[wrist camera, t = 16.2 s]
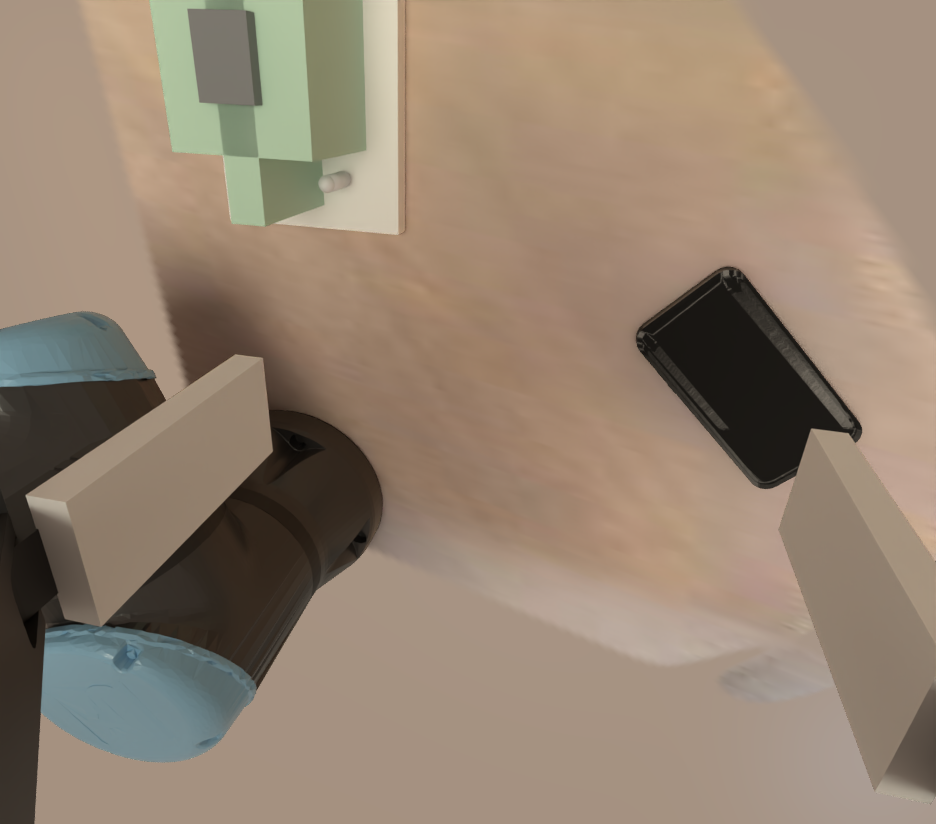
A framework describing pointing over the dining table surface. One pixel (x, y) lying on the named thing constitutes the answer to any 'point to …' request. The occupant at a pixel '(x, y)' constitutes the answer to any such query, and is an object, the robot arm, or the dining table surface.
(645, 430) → the dining table surface
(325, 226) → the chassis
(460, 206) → the dining table surface
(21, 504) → the robot arm
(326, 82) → the green stepped block
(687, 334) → the phone
